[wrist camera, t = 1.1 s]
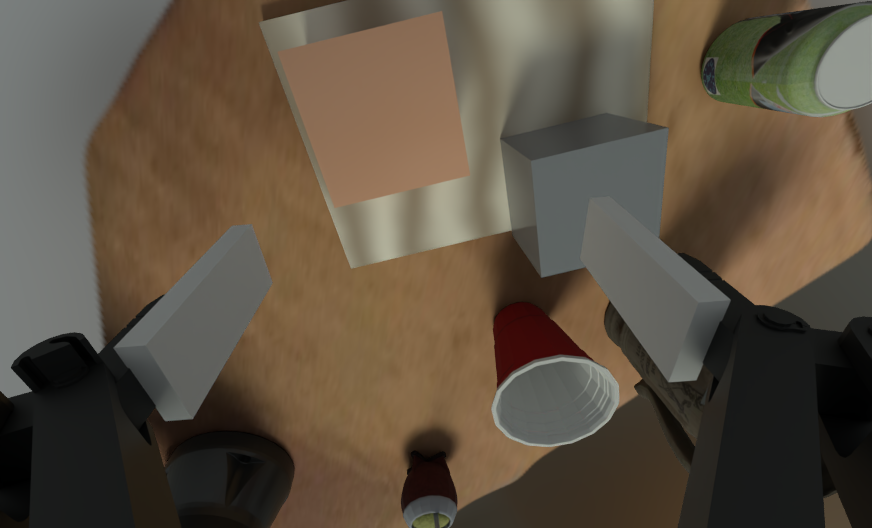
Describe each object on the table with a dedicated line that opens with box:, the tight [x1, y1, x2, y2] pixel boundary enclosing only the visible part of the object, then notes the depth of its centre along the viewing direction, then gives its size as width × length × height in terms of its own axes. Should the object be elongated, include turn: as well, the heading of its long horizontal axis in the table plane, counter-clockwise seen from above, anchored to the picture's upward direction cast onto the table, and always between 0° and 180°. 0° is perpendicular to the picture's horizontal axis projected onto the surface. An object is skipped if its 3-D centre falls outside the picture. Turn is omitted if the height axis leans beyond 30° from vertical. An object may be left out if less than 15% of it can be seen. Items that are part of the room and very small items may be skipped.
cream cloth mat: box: [259, 0, 654, 268], centre depth 31 cm, size 28×20×1 cm
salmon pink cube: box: [278, 11, 470, 208], centre depth 26 cm, size 9×9×8 cm
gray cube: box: [500, 113, 669, 278], centre depth 30 cm, size 9×9×8 cm
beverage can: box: [701, 1, 872, 117], centre depth 26 cm, size 6×7×12 cm
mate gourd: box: [401, 451, 457, 528], centre depth 45 cm, size 8×8×15 cm
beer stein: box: [604, 303, 837, 498], centre depth 36 cm, size 15×11×20 cm
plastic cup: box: [491, 302, 619, 447], centre depth 37 cm, size 11×11×12 cm
